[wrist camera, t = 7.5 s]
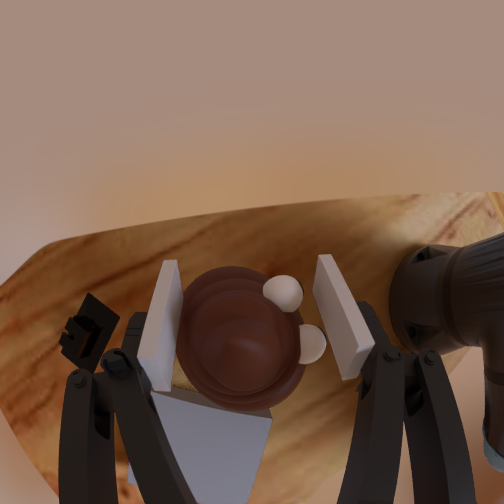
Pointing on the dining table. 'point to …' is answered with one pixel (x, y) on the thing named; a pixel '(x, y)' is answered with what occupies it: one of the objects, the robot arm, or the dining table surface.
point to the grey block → (212, 444)
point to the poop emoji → (245, 338)
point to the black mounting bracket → (88, 333)
